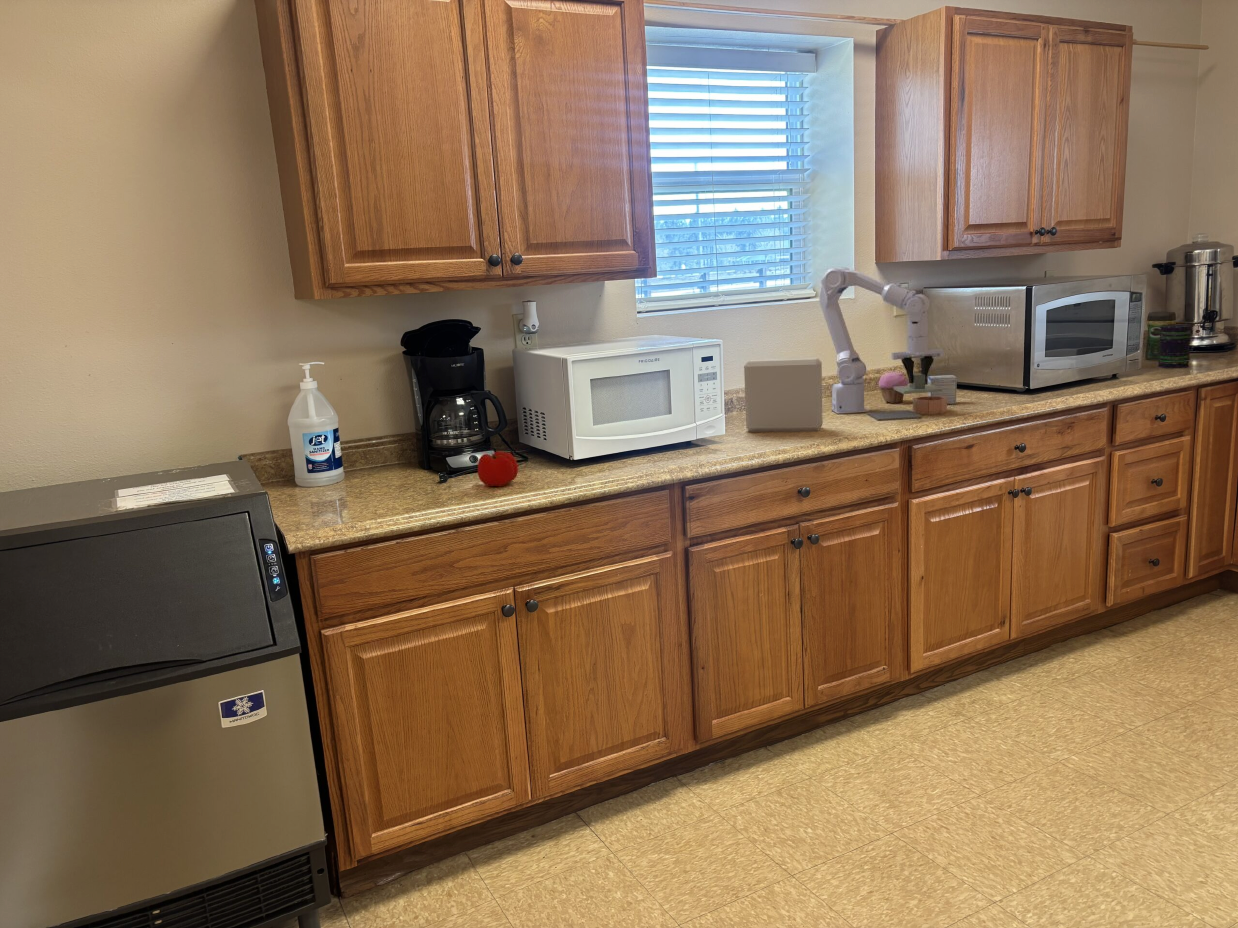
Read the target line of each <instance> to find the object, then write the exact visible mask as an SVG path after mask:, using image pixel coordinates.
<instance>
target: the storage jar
mask: <svg viewBox="0 0 1238 928" xmlns="http://www.w3.org/2000/svg"><path fill="white" fill-rule="evenodd" d="M1160 328H1161V330H1160V332H1161V333H1160V336H1161V337H1160V352H1159V357H1158V360H1157V361H1158V362H1157V363H1158V365H1157V368H1160V369H1187V368H1189V363H1190V360H1191V359H1190V358H1191V356H1190V355H1191V352H1190V344H1191V343H1190V342H1191V340H1192V338H1191V337H1192V325H1191V324H1175V325H1162V326H1160Z"/></svg>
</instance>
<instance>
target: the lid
mask: <svg viewBox="0 0 1238 928" xmlns="http://www.w3.org/2000/svg"><path fill="white" fill-rule="evenodd" d="M913 377H914V379H913V383H909V385H907V386H897V387H894V390H896V391H898V392H901V393H903V394H904V395H909V394H922V393H923V394H924V393H926V394H928V392H942V389H941V388H939V387H936V386H933V385H931V384H928V383H927V384H926V382H925V375H924V374H921V372H915V373H914V372H913Z"/></svg>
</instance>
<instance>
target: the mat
mask: <svg viewBox="0 0 1238 928" xmlns="http://www.w3.org/2000/svg"><path fill="white" fill-rule="evenodd" d="M866 415H868V417H871V418H872V417H873V418H872V419H874V420H876V421H877V422H878V421H879V422H881V421H882V420H883V421H897V420H914V419H915V418H916V419H921V418H922V416H921V415H920V414H919V415H918V414H917V413H915V412H913V411H910V410H909V409H903V410H901V409H899V410H887V411H886V410H883V411H872V412H871V411H870V412H869V411H868V412H866ZM883 421H882V422H883Z"/></svg>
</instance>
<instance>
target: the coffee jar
mask: <svg viewBox="0 0 1238 928" xmlns="http://www.w3.org/2000/svg"><path fill="white" fill-rule="evenodd" d="M1176 323H1177V315H1176V312H1175V311H1168V310H1167V311H1166V310H1165V311H1163V310H1161V311H1159V310H1158V311H1151V312H1148V315H1147V318H1146V326H1147V339H1146V345H1145V351H1144V352H1145V353H1144V358H1145V359H1146V360H1148V361H1149V360H1150V361H1159V360H1158V357H1159V352H1160V337H1161V336H1160V333H1161V332H1160V330H1161V328H1160V326H1162V325H1177V324H1176Z"/></svg>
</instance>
